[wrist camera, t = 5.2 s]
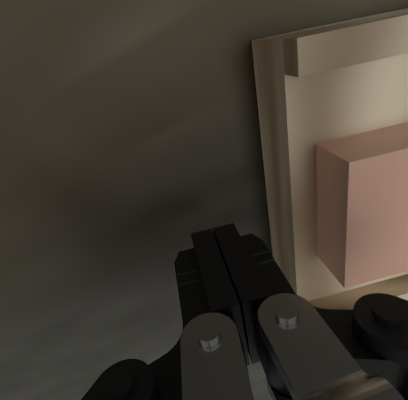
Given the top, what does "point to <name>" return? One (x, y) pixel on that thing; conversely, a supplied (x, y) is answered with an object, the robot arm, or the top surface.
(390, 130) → the tile
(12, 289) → the top surface
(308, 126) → the beige shallow box
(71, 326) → the top surface
